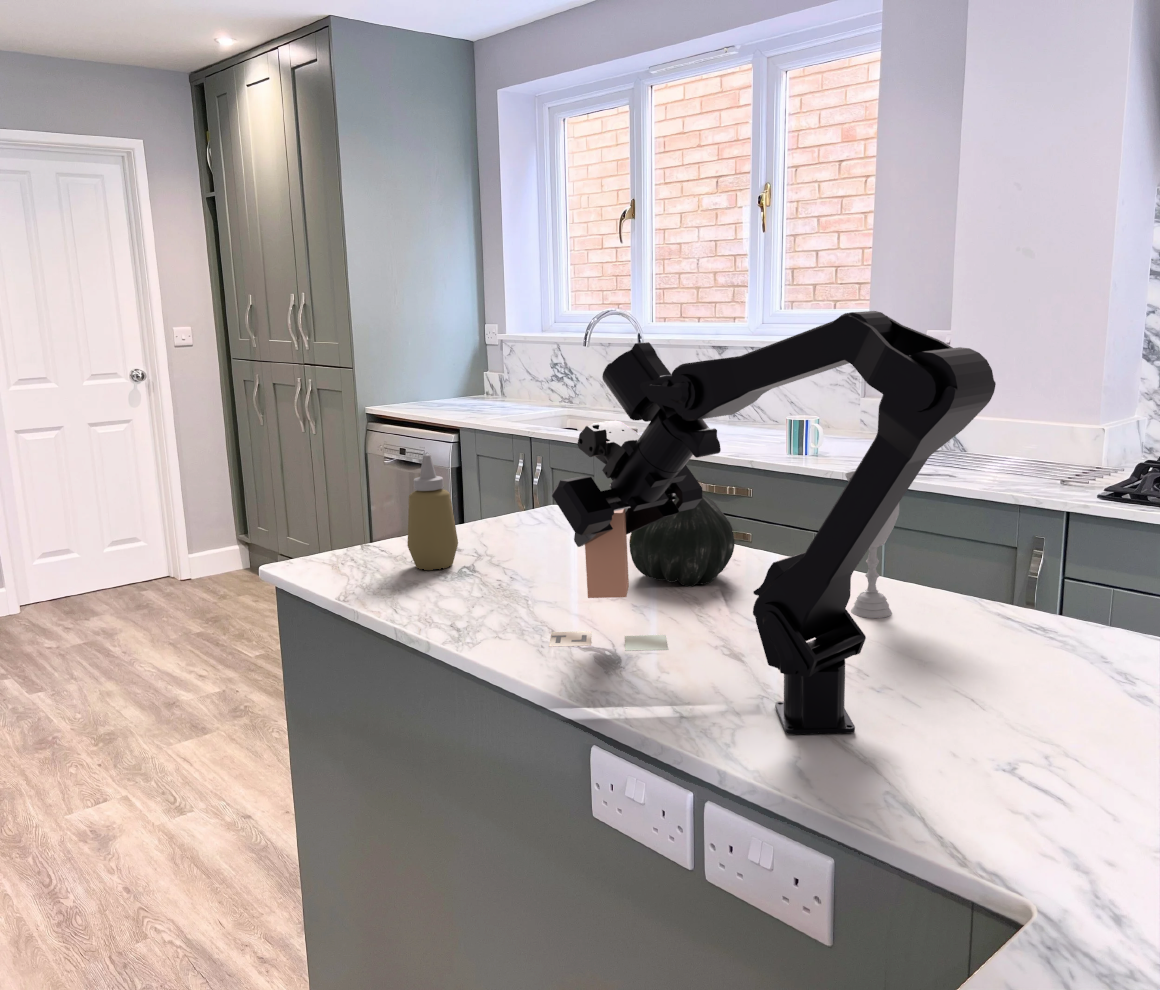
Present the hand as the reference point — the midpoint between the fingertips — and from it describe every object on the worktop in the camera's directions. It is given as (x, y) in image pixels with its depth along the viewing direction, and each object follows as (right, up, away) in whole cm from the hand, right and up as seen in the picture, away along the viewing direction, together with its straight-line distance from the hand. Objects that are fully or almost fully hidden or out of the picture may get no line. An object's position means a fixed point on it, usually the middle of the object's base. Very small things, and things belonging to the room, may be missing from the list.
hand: (598, 538), depth 113 cm
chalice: (+35, -10, +11) cm, 38 cm away
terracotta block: (+1, -6, 0) cm, 6 cm away
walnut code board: (+1, -13, +1) cm, 13 cm away
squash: (+13, -8, +28) cm, 32 cm away
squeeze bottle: (-26, -7, +40) cm, 48 cm away
